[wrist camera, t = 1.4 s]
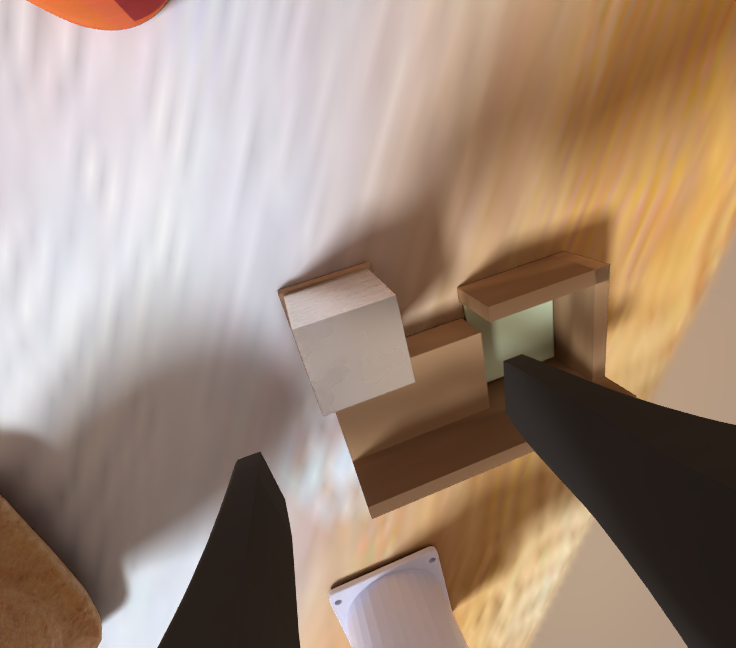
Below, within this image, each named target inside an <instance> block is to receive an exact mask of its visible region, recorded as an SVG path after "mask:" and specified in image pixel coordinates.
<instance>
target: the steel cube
mask: <svg viewBox="0 0 736 648" xmlns="http://www.w3.org/2000/svg"><path fill="white" fill-rule="evenodd" d="M284 300H285V304H286V308H287V312H288V316H289V321H290V325H291V329H292V332H293V335H294V338H295V340H296V343H297V346H298V349H299V351H300V354H301V357H302V359H303V362H304V365H305V368H306V370H307V373H308V376H309V379H310V381H311V384H312V387H313V390H314V392H315V395H316V398H317V401H318V403H319V406H320V409H321V411H322V414H323V416H326V415H328V414H331V413H334V412H336V411H339V410H342V409H344V408H347V407H350V406H353V405H355V404H358V403H361V402H363V401H366V400H369V399H371V398H374V397H377V396H379V395H382V394H385V393H387V392H390V391H393V390H396V389H398V388H401V387H404V386H406V385H409V384H412V383H414V382H415V379H414V374H413V370H412V365H411V361H410V356H409V352H408V347H407V343H406V338H405V333H404V329H403V324H402V320H401V315H400V311H399V306H398V302H397V297H396V295H395V294H394V293H393V292H392V291H391V290H390V289H389V288H388V287H387V286H386V285H385V284H384V283H383V282H382V281H380V280H379V279H378V278H377V277H376V276H375V275H374V274H373V273H372V272H371V271H370V270H369V269H368V268H367V269H363V270H360V271H357V272H354V273H351V274H348V275H345V276H342V277H338V278H335V279H332V280H329V281H326V282H323V283H320V284H316V285H313V286H310V287H307V288H304V289H301V290H298V291H295V292H291V293H288V294H285V295H284Z"/></svg>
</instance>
